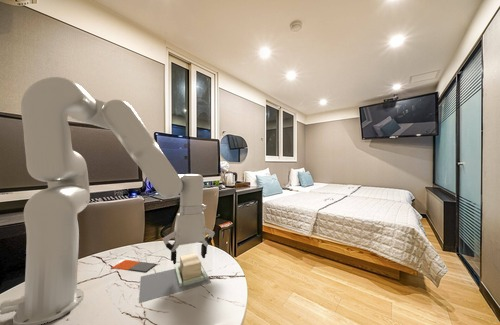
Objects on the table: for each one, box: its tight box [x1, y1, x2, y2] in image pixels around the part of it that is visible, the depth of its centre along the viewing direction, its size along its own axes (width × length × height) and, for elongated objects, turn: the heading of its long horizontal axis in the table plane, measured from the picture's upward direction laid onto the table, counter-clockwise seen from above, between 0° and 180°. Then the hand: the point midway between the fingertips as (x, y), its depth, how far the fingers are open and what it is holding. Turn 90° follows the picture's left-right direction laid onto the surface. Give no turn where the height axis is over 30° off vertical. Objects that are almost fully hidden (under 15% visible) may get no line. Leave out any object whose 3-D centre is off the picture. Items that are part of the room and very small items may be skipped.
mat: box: [138, 264, 212, 304], centre depth 62 cm, size 20×14×2 cm
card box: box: [179, 252, 202, 281], centre depth 65 cm, size 8×6×5 cm
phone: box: [110, 259, 158, 274], centre depth 70 cm, size 6×1×15 cm
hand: (189, 259), depth 65 cm, fingers open, 9 cm apart
